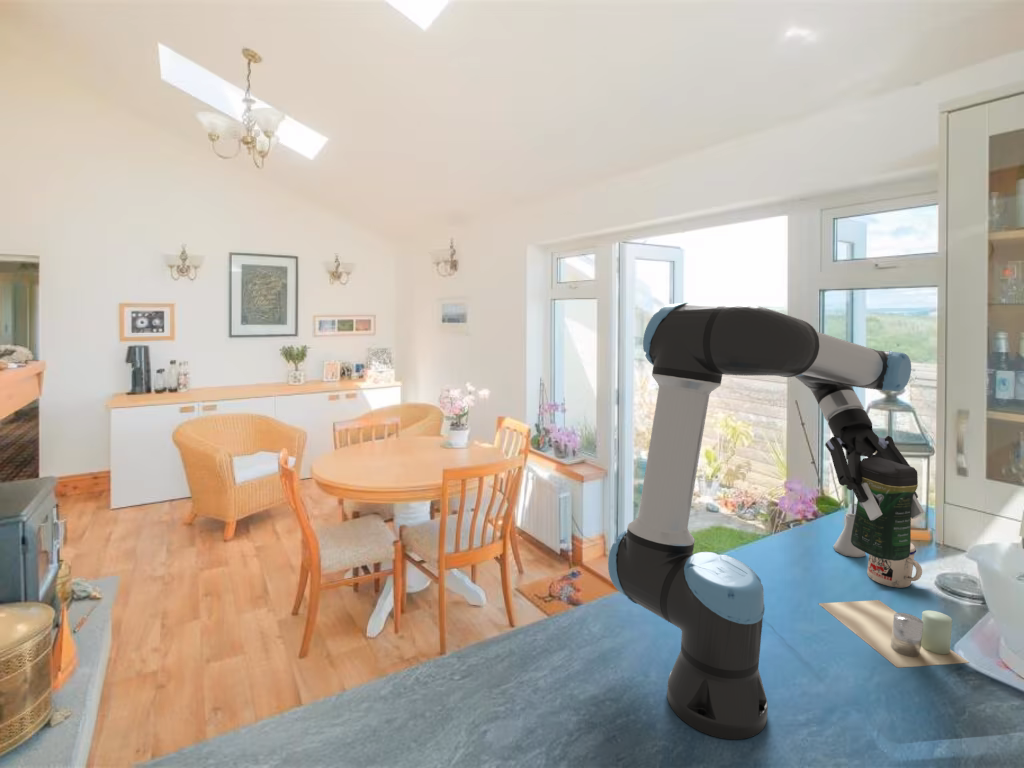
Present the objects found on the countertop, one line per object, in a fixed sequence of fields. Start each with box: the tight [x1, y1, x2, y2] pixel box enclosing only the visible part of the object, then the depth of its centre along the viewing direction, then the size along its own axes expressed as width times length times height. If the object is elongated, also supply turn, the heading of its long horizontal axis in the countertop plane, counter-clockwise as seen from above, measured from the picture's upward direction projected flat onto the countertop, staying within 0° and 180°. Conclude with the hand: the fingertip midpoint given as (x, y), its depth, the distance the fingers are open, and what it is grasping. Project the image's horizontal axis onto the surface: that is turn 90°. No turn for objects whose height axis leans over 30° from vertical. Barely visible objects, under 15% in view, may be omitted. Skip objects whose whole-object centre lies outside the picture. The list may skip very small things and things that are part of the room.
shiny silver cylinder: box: [891, 612, 924, 657], centre depth 101 cm, size 4×4×6 cm
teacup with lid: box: [867, 542, 923, 589], centre depth 129 cm, size 12×9×12 cm
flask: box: [832, 513, 867, 558], centre depth 145 cm, size 7×7×10 cm
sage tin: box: [921, 609, 953, 654], centre depth 102 cm, size 4×4×6 cm
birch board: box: [818, 599, 970, 669], centre depth 108 cm, size 14×21×2 cm, turn 7°
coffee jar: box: [851, 457, 919, 561], centre depth 108 cm, size 10×8×19 cm
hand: (897, 516), depth 105 cm, fingers closed on coffee jar, 8 cm apart
